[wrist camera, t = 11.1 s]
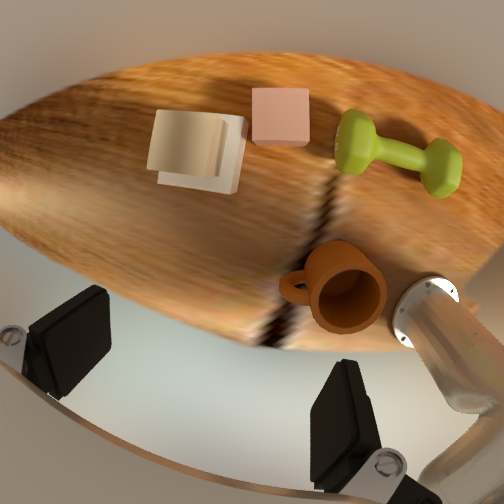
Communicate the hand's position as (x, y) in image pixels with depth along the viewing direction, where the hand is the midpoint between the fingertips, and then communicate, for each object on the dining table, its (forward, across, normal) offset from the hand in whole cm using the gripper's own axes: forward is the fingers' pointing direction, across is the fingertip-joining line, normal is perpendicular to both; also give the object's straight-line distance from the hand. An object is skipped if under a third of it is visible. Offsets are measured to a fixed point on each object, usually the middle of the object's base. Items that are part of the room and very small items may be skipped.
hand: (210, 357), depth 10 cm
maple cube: (+22, +10, -8) cm, 25 cm away
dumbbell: (+28, -13, -14) cm, 33 cm away
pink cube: (+27, +2, -14) cm, 30 cm away
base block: (+27, +10, -8) cm, 30 cm away
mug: (+27, -9, +4) cm, 29 cm away
